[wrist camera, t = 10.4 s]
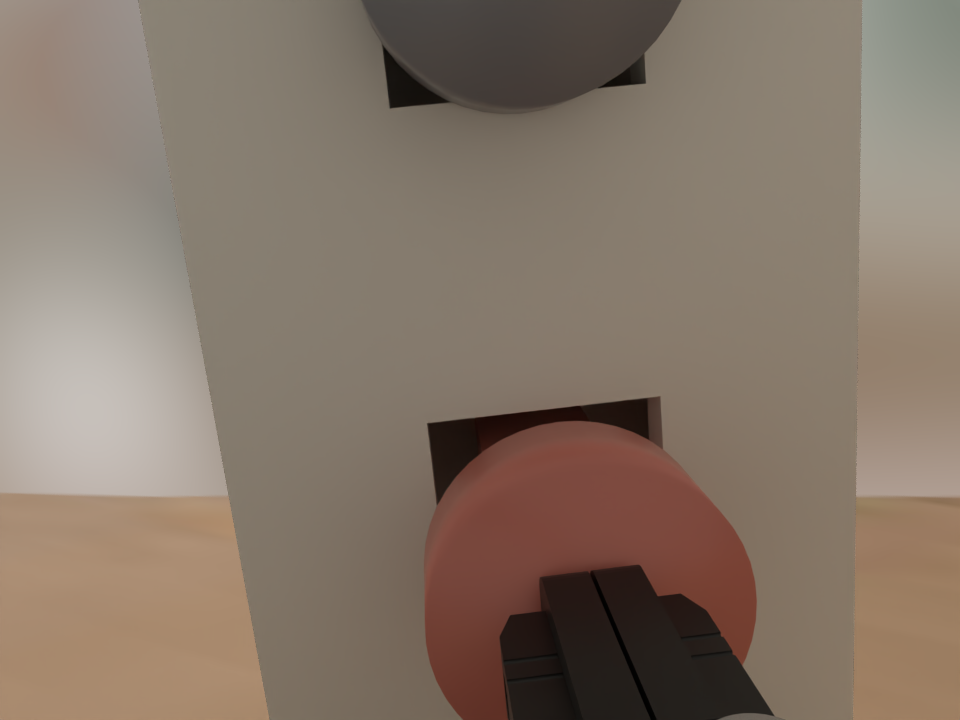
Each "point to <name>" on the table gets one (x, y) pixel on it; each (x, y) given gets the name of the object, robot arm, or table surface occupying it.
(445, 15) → the upper grey button
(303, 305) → the box
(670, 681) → the robot arm
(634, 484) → the lower red button
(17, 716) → the table surface
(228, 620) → the table surface
